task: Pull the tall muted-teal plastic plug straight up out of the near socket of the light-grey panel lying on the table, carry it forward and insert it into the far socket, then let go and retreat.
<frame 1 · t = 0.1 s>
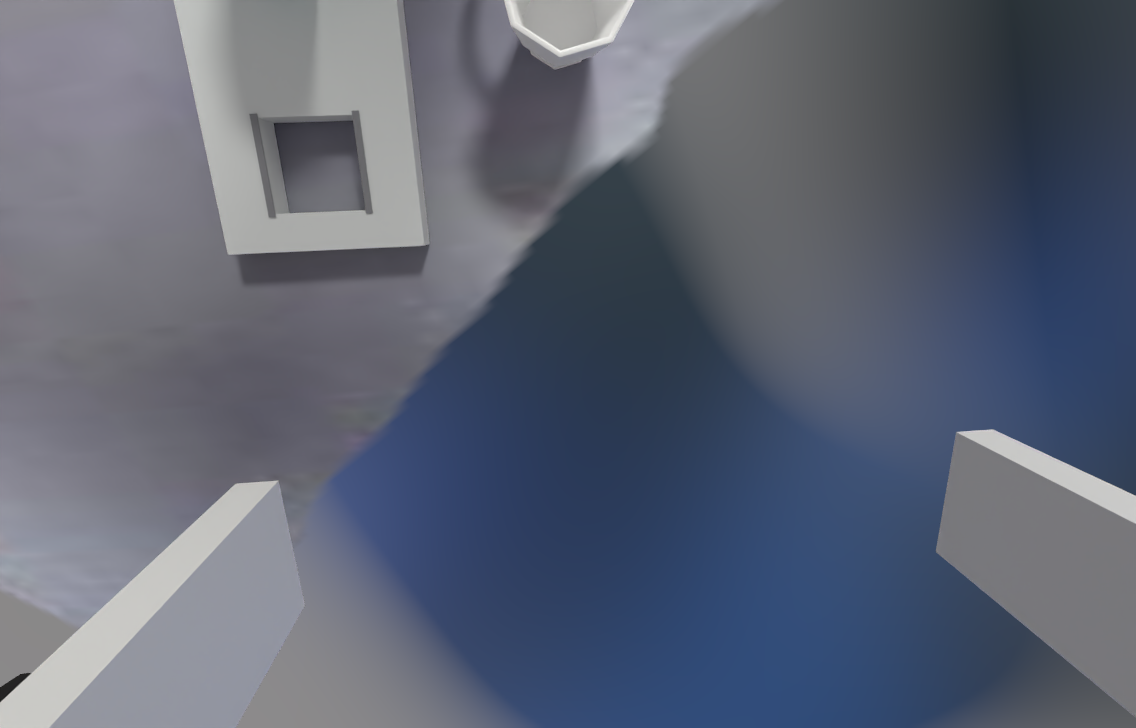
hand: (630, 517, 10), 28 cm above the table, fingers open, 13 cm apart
cup: (543, 9, 33), on the table
panel: (309, 62, 32), on the table
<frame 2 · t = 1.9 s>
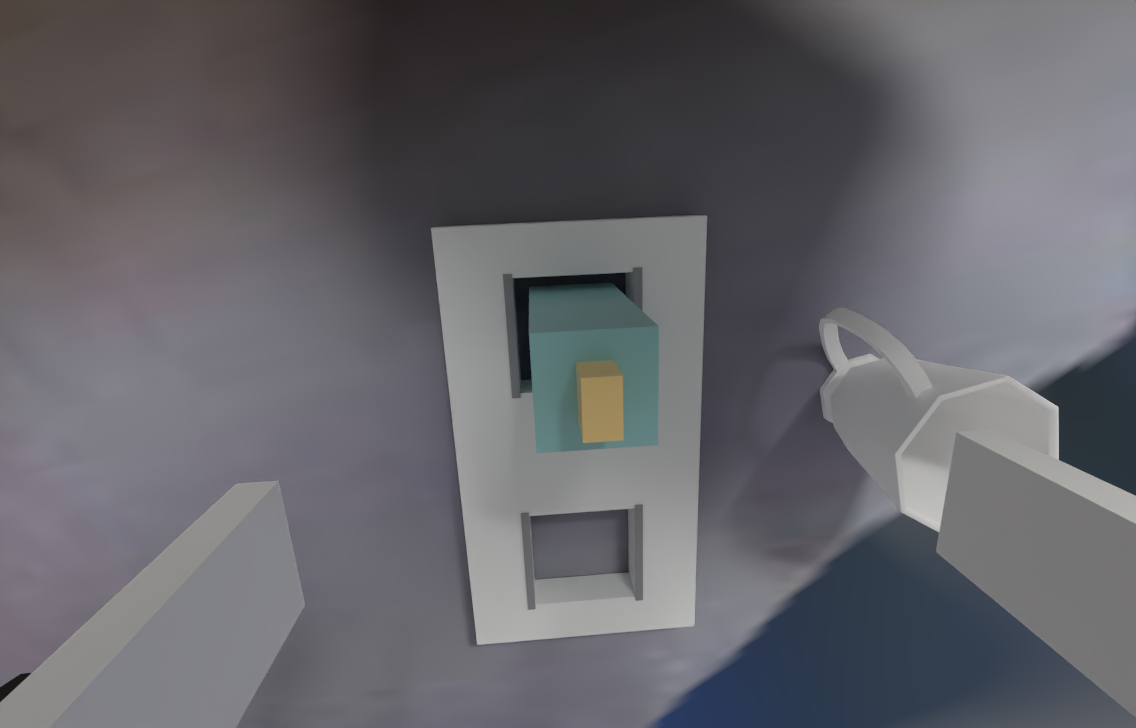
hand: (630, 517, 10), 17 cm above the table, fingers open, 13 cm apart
plug: (571, 324, 26), resting in panel
cup: (842, 371, 28), on the table
panel: (576, 436, 28), on the table
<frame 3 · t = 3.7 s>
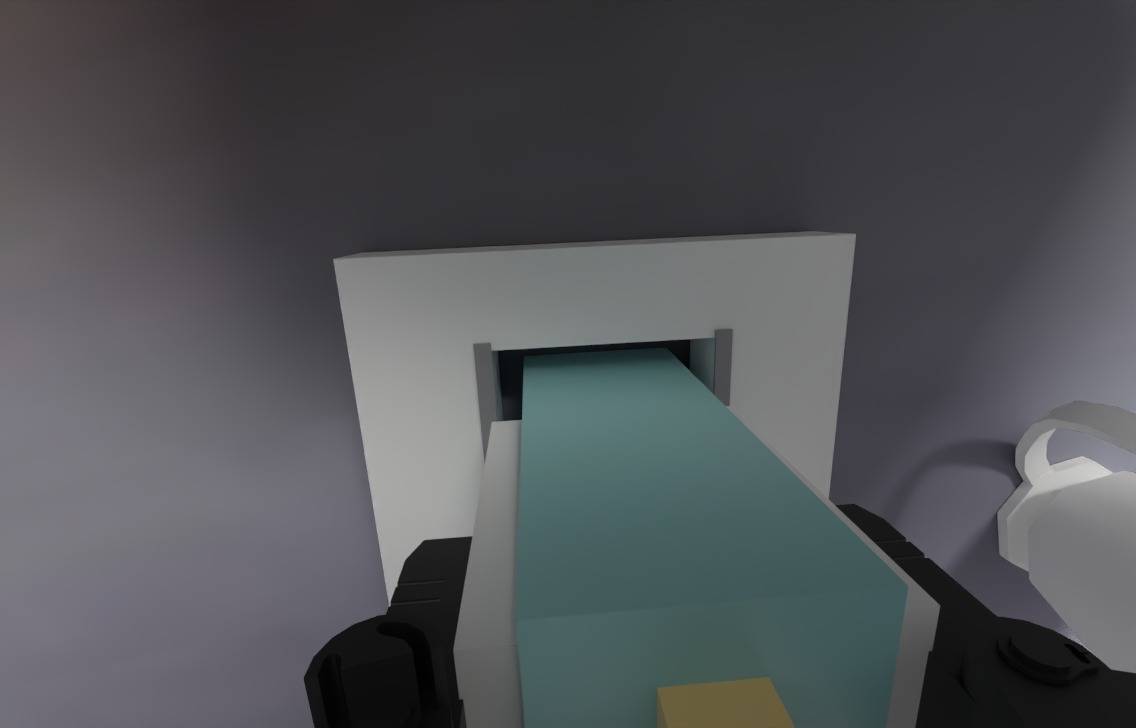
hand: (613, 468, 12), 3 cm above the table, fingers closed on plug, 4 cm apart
plug: (597, 418, 15), resting in panel, touching gripper
cup: (1034, 482, 17), on the table
panel: (602, 592, 17), on the table
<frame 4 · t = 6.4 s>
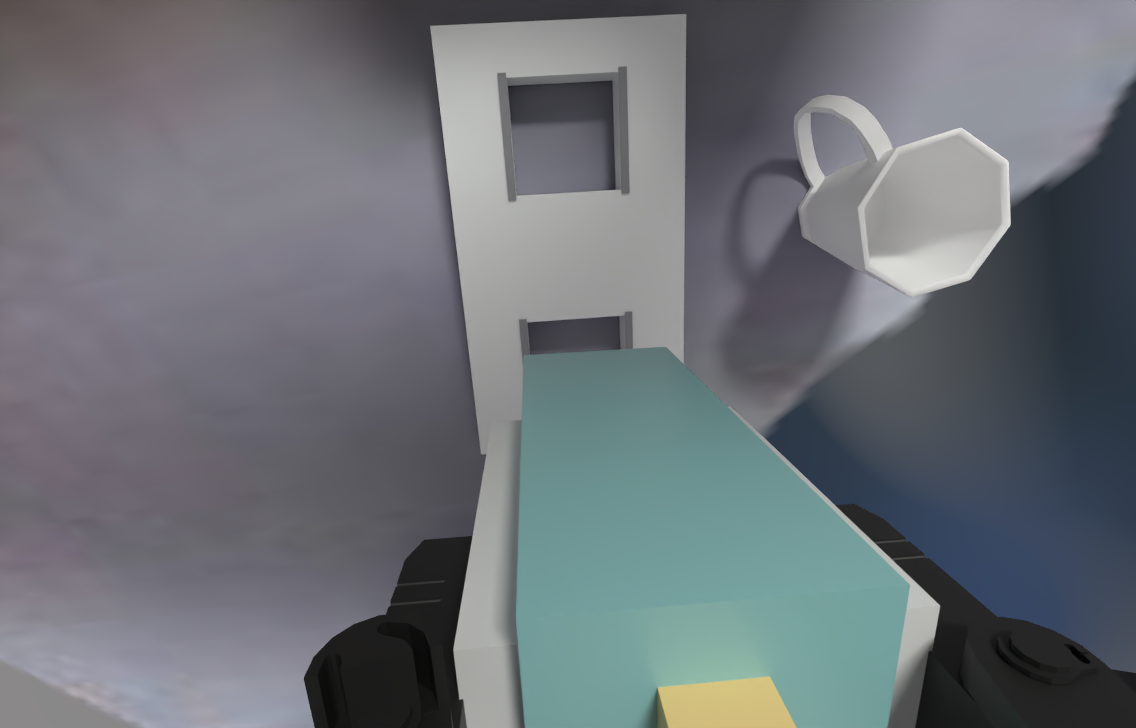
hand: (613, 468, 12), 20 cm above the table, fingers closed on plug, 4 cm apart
plug: (597, 417, 15), point 16 cm above the table, touching gripper
cup: (819, 190, 30), on the table
panel: (570, 254, 30), on the table
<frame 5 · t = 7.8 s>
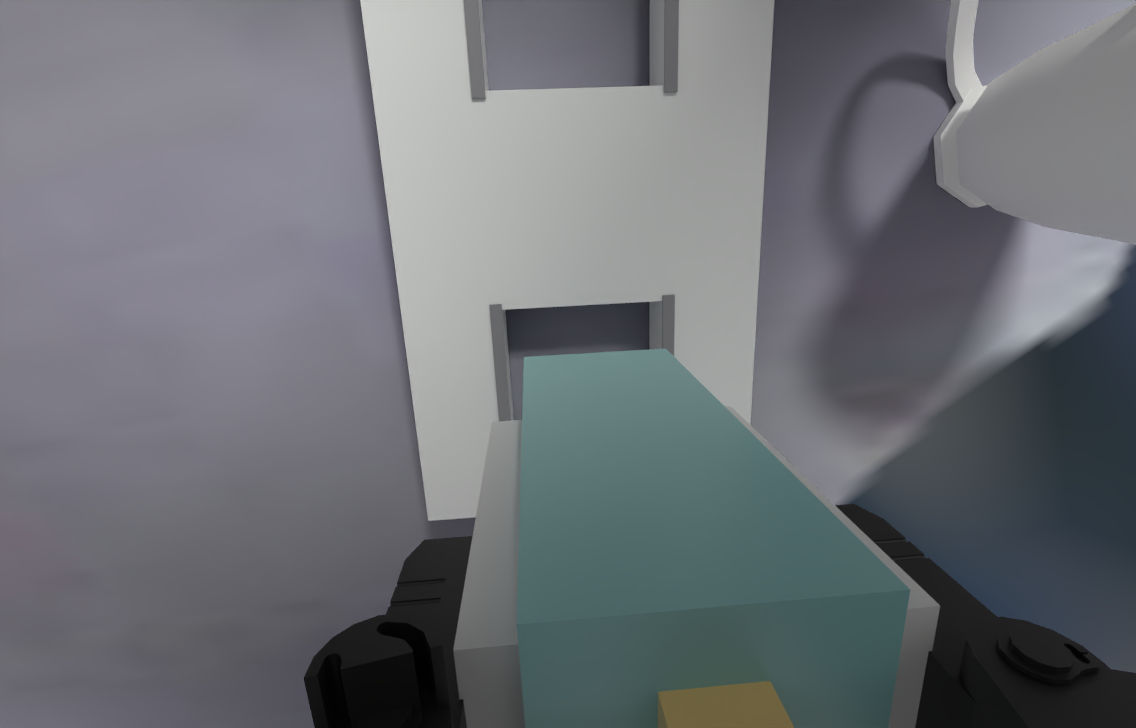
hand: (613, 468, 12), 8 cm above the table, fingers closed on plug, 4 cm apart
plug: (597, 419, 15), point 5 cm above the table, touching gripper
cup: (967, 110, 19), on the table
panel: (574, 203, 19), on the table
when the fingers open (4 cm above the table, at t = 8.9 s): plug drops 1 cm, resting in panel.
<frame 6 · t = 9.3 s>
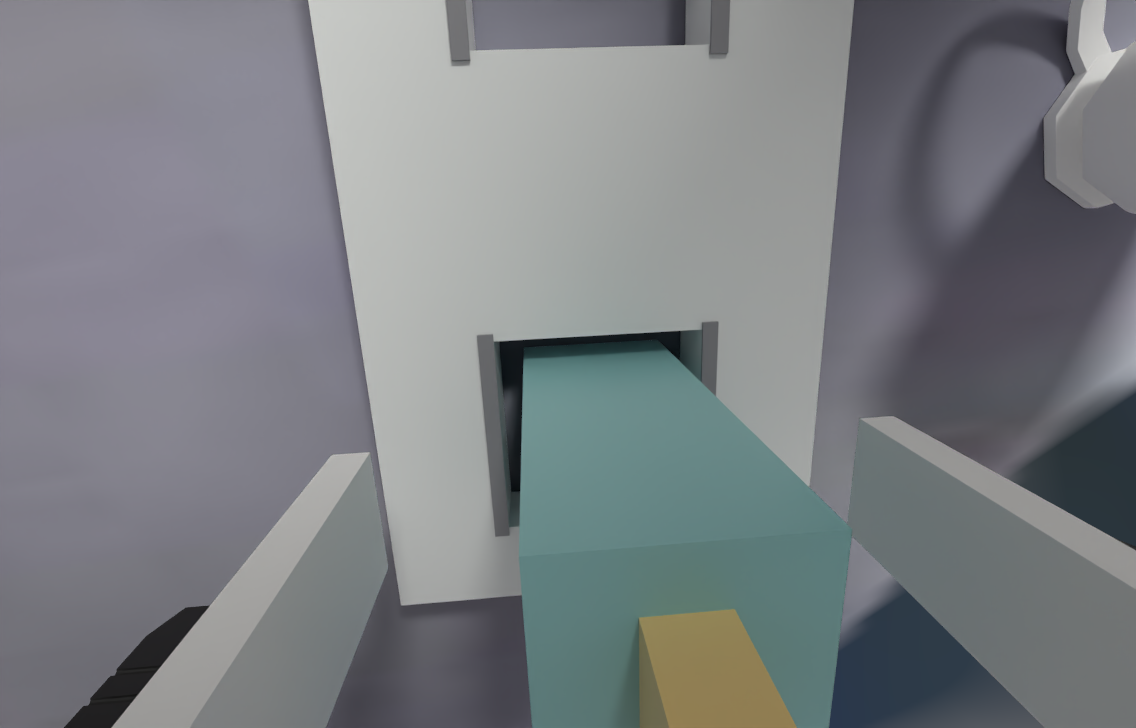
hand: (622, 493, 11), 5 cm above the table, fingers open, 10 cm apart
plug: (593, 406, 16), resting in panel
cup: (1086, 84, 15), on the table
panel: (586, 203, 15), on the table
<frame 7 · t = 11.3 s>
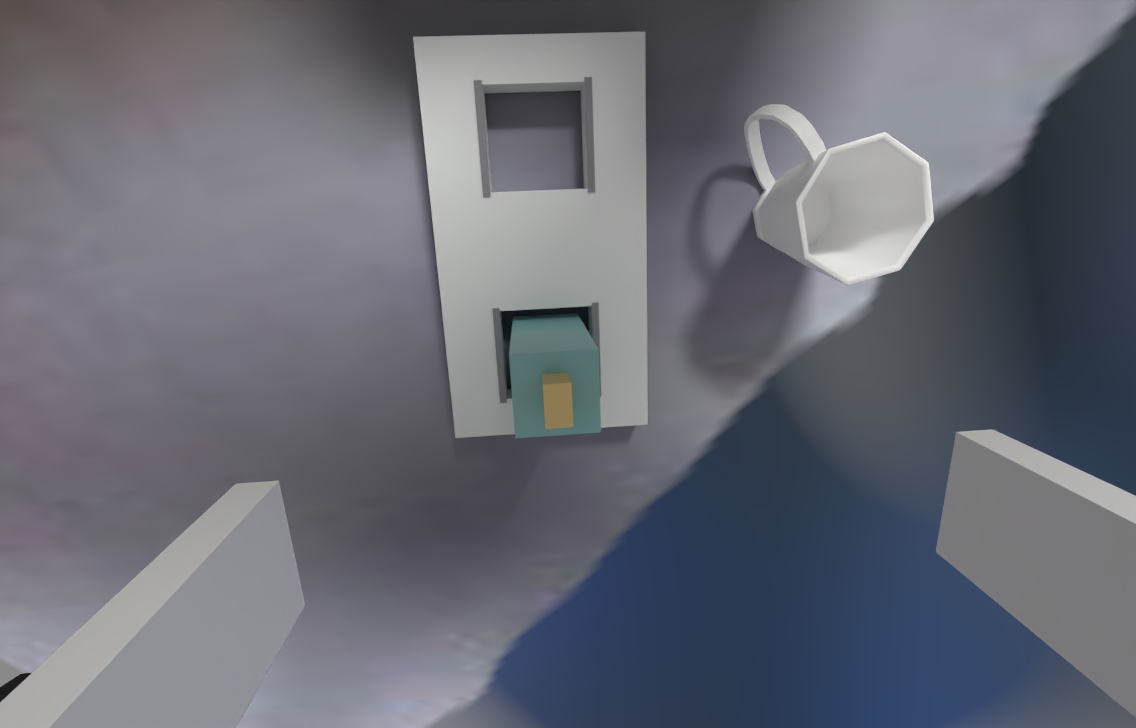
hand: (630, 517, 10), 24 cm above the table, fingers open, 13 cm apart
plug: (547, 345, 34), resting in panel
cup: (771, 194, 33), on the table
panel: (541, 249, 32), on the table
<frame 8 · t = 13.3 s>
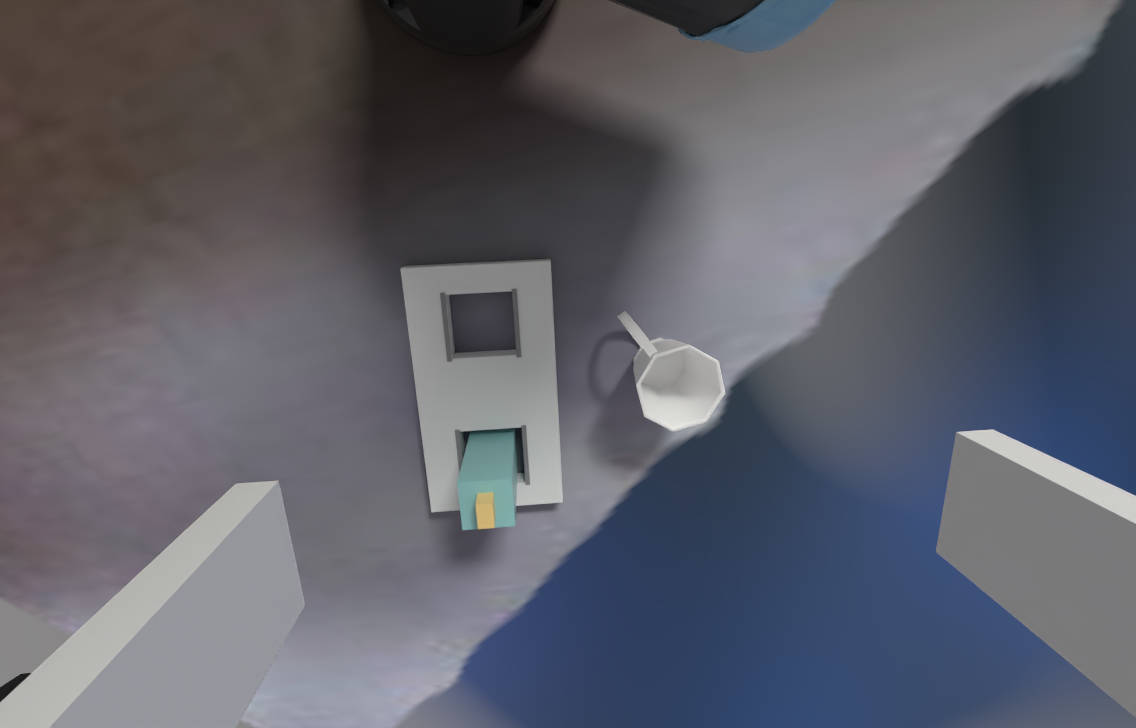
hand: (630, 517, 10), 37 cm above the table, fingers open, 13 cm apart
plug: (494, 447, 49), resting in panel
cup: (646, 348, 48), on the table
panel: (489, 386, 48), on the table
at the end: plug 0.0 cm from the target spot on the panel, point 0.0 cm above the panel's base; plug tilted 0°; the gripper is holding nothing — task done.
